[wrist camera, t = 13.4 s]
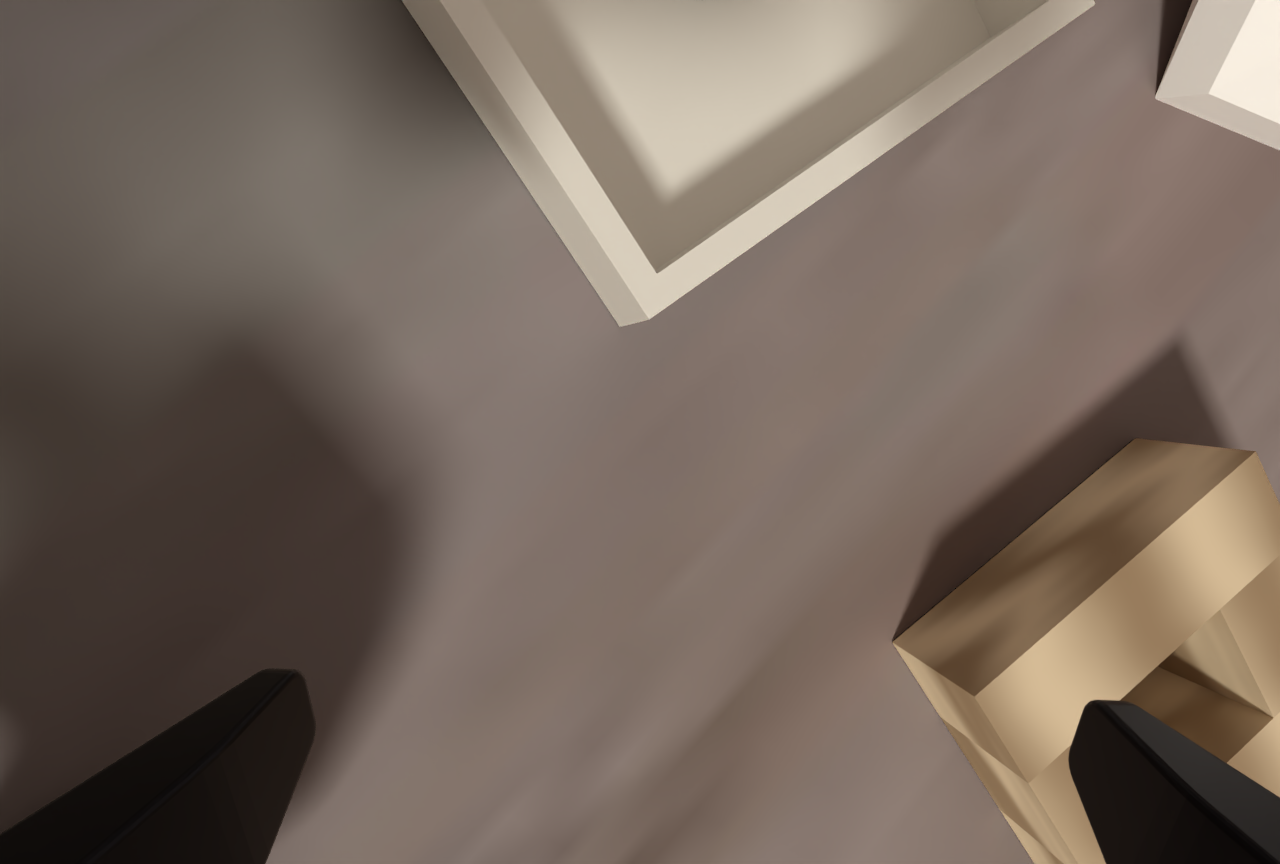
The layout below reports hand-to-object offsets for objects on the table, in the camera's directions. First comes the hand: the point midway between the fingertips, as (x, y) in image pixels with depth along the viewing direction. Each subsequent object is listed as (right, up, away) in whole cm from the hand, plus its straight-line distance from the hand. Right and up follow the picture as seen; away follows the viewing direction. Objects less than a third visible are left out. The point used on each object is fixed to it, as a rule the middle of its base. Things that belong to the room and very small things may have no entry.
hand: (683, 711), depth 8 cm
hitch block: (+16, -5, +18) cm, 25 cm away
